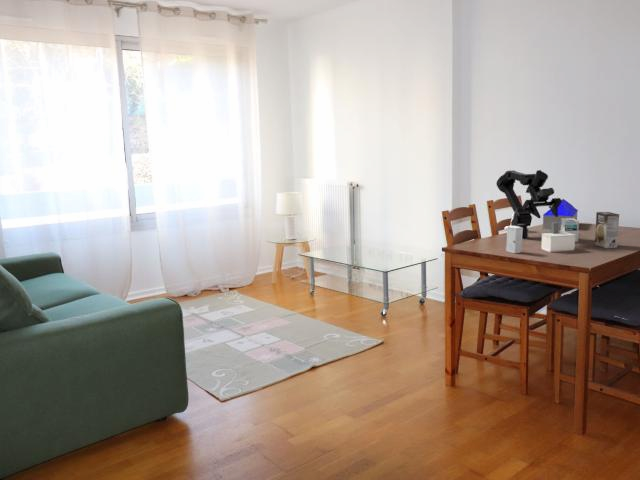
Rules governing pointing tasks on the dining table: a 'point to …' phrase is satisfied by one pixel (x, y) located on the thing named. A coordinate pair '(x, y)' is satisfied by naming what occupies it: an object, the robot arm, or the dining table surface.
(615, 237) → the coffee box
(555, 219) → the house
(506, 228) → the seated beast figurine
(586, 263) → the dining table surface
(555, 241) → the carton
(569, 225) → the light bulb box
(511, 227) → the skincare box
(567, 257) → the dining table surface
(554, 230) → the carton lid
